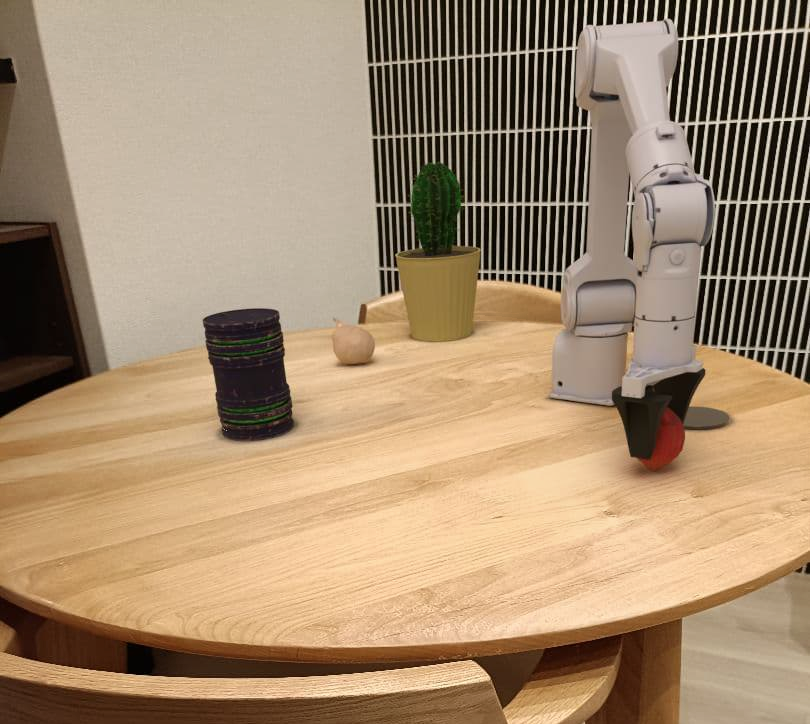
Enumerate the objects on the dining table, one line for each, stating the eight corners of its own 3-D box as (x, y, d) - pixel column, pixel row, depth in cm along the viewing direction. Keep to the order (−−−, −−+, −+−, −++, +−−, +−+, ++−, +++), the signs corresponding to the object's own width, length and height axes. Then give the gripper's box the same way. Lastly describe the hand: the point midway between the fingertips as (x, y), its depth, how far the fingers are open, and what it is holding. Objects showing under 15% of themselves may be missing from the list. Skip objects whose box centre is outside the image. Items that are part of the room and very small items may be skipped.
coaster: (651, 424, 101) (651, 421, 101) (675, 406, 107) (675, 403, 107) (716, 433, 97) (716, 430, 96) (738, 414, 102) (738, 411, 102)
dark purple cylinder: (308, 420, 112) (295, 308, 105) (269, 444, 104) (251, 325, 98) (248, 414, 116) (231, 307, 109) (206, 437, 108) (185, 323, 102)
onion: (683, 462, 90) (689, 390, 86) (680, 482, 85) (687, 407, 81) (628, 458, 91) (632, 389, 88) (622, 478, 87) (627, 405, 83)
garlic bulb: (353, 357, 142) (348, 310, 138) (382, 360, 139) (378, 312, 135) (328, 366, 137) (323, 318, 134) (358, 370, 134) (353, 321, 130)
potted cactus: (394, 345, 148) (380, 163, 135) (407, 326, 162) (397, 159, 148) (479, 343, 145) (474, 157, 132) (485, 324, 159) (482, 153, 146)
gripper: (677, 334, 74) (665, 475, 80) (730, 304, 84) (716, 430, 90) (603, 328, 78) (598, 462, 84) (663, 300, 88) (654, 421, 94)
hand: (655, 445), depth 87 cm, fingers open, 7 cm apart
